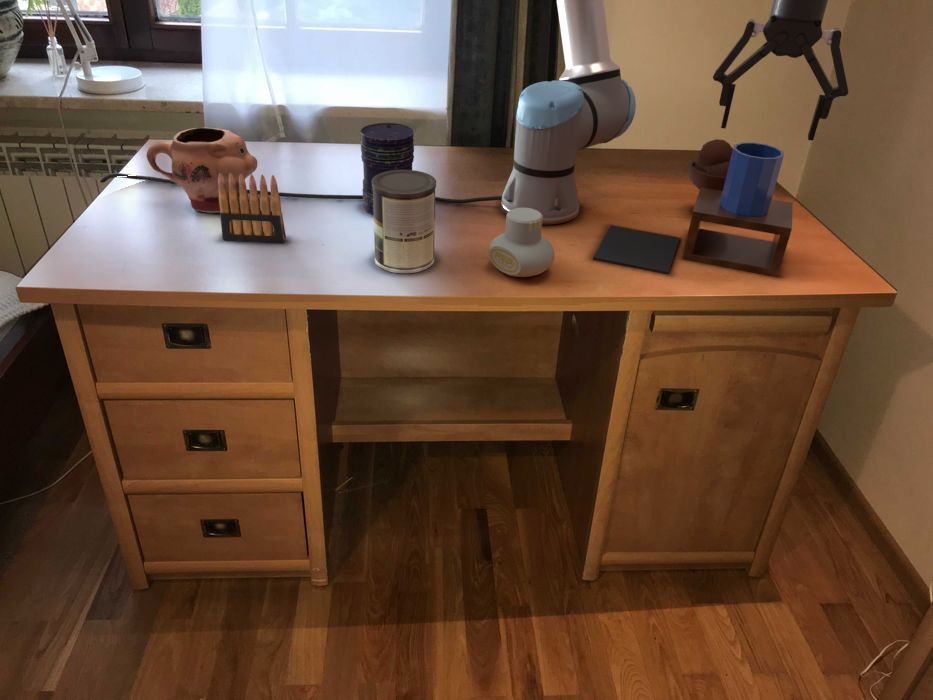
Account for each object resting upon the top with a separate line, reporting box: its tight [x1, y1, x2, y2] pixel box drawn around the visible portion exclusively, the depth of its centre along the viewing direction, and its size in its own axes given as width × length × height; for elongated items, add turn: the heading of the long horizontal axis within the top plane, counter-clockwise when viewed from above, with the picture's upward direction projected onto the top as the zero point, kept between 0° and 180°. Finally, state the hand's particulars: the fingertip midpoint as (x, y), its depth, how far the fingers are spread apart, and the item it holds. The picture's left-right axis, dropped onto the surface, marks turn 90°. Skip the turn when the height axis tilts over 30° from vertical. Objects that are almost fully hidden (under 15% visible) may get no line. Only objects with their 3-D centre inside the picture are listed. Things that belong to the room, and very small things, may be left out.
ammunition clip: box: [218, 173, 287, 244], centre depth 130 cm, size 11×2×12 cm, turn 89°
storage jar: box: [360, 122, 415, 216], centre depth 143 cm, size 10×10×15 cm
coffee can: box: [372, 169, 437, 274], centre depth 125 cm, size 10×10×14 cm
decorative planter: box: [146, 127, 259, 213], centre depth 141 cm, size 20×12×14 cm, turn 95°
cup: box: [720, 141, 785, 216], centre depth 128 cm, size 8×8×10 cm
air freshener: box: [488, 208, 555, 278], centre depth 125 cm, size 11×8×10 cm
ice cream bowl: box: [687, 138, 733, 191], centre depth 147 cm, size 11×11×15 cm
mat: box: [592, 224, 681, 275], centre depth 136 cm, size 13×15×1 cm
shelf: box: [681, 188, 794, 278], centre depth 134 cm, size 16×12×9 cm
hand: (766, 132), depth 124 cm, fingers open, 13 cm apart
